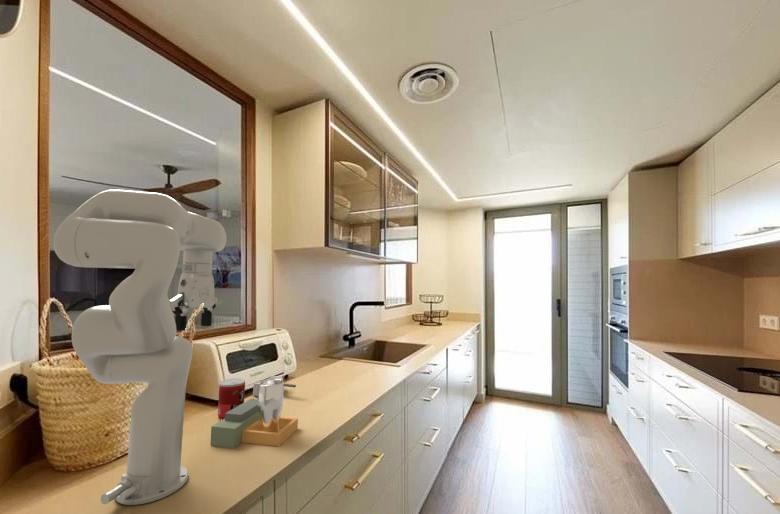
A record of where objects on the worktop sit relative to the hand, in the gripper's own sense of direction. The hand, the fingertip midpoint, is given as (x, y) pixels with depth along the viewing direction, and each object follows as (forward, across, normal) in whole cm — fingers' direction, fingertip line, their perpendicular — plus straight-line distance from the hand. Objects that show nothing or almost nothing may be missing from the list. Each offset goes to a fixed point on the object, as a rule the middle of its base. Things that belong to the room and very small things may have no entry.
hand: (193, 327), depth 96 cm
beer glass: (+31, +4, -23) cm, 39 cm away
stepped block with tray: (+30, +6, -20) cm, 37 cm away
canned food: (+31, +15, -3) cm, 34 cm away
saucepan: (+31, +36, -7) cm, 48 cm away
